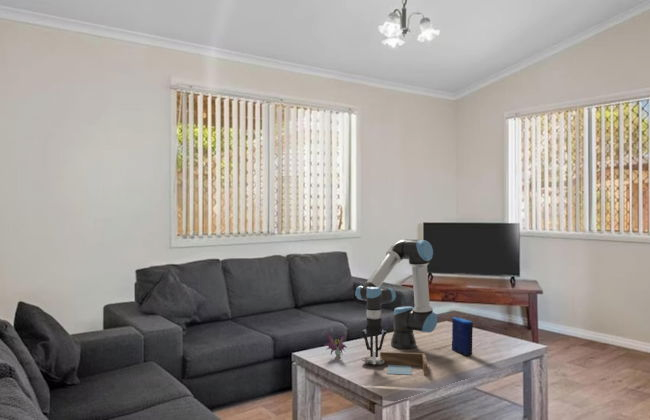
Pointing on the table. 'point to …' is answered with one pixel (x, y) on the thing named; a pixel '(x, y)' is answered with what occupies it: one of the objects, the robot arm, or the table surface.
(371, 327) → the robot arm
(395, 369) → the mat
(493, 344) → the table surface
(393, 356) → the corner walls
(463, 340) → the book
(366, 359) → the stone
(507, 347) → the table surface
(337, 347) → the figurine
